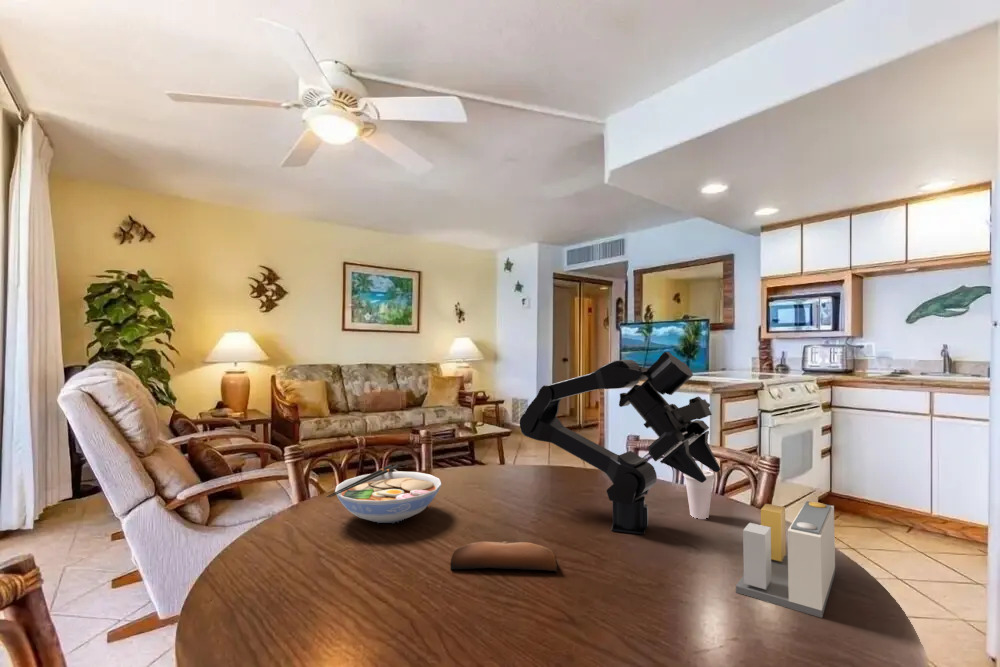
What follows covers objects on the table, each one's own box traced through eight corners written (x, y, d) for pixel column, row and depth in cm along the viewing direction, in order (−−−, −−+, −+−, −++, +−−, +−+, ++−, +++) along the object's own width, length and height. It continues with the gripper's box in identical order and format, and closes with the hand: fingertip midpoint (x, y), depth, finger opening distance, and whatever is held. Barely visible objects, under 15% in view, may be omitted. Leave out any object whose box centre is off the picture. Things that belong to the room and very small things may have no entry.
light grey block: (743, 583, 74) (743, 530, 74) (750, 573, 77) (749, 522, 78) (765, 589, 72) (765, 534, 73) (771, 579, 75) (770, 527, 76)
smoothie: (718, 522, 104) (717, 456, 104) (686, 520, 105) (685, 454, 105) (711, 512, 110) (710, 449, 110) (681, 510, 111) (680, 448, 112)
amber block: (761, 556, 84) (760, 509, 84) (766, 549, 87) (765, 503, 87) (781, 561, 82) (780, 513, 82) (785, 553, 85) (785, 507, 85)
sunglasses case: (555, 552, 89) (556, 527, 86) (557, 588, 83) (558, 563, 80) (457, 550, 90) (454, 525, 87) (451, 586, 84) (448, 561, 81)
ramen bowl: (405, 547, 92) (405, 503, 92) (306, 532, 99) (306, 491, 100) (460, 506, 115) (460, 471, 115) (377, 496, 123) (377, 463, 123)
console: (736, 592, 75) (734, 516, 75) (761, 555, 88) (759, 490, 88) (822, 617, 68) (820, 533, 68) (835, 573, 81) (833, 502, 81)
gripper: (666, 387, 87) (732, 459, 80) (699, 380, 102) (757, 441, 95) (624, 425, 92) (682, 497, 85) (661, 414, 107) (713, 474, 100)
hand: (711, 475), depth 91 cm, fingers open, 9 cm apart
